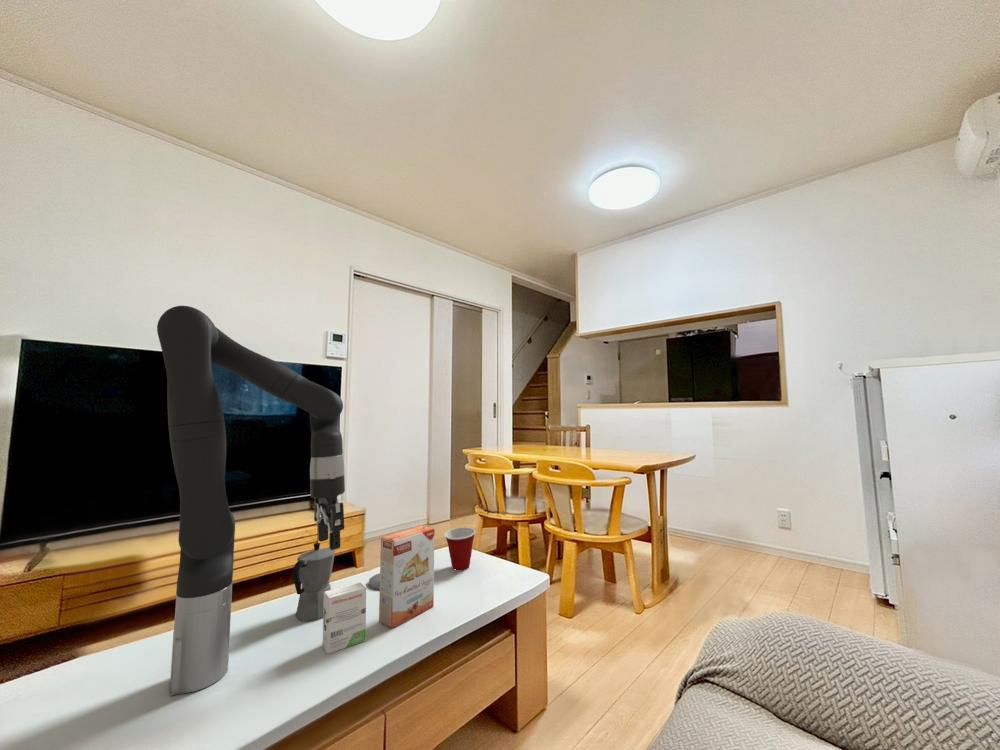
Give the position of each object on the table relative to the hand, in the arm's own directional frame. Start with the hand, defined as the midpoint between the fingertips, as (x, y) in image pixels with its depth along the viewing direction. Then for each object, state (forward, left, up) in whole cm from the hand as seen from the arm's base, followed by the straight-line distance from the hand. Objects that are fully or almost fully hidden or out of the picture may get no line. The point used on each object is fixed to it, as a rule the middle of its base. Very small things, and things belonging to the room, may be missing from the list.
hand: (329, 544), depth 91 cm
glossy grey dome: (+25, +23, -22) cm, 40 cm away
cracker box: (+20, 0, -22) cm, 30 cm away
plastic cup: (+48, +17, -22) cm, 55 cm away
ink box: (+3, -2, -22) cm, 22 cm away
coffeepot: (+1, +17, -22) cm, 28 cm away
